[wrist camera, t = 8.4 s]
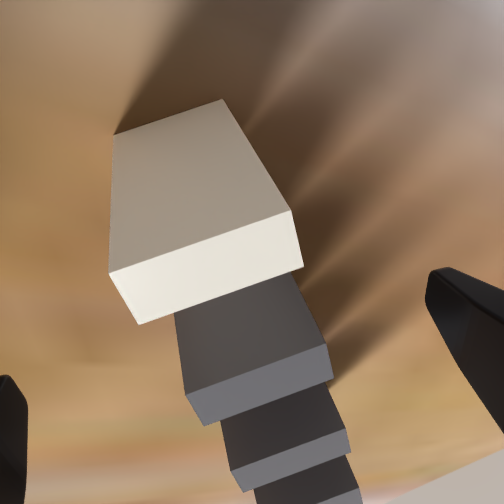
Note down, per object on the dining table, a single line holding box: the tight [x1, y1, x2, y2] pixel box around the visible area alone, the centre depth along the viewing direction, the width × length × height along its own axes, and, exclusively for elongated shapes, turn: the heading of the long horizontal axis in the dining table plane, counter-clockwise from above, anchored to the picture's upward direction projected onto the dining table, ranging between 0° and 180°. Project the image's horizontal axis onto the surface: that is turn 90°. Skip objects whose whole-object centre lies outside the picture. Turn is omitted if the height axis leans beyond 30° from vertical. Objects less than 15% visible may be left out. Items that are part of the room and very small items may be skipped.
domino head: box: [108, 99, 304, 325], centre depth 16 cm, size 2×5×10 cm, turn 104°
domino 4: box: [254, 455, 363, 504], centre depth 26 cm, size 2×5×10 cm, turn 105°
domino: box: [174, 272, 334, 426], centre depth 20 cm, size 2×5×10 cm, turn 104°
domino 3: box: [220, 382, 351, 493], centre depth 23 cm, size 2×5×10 cm, turn 105°
